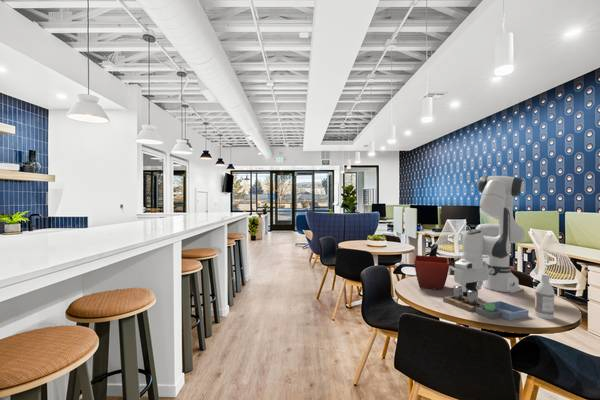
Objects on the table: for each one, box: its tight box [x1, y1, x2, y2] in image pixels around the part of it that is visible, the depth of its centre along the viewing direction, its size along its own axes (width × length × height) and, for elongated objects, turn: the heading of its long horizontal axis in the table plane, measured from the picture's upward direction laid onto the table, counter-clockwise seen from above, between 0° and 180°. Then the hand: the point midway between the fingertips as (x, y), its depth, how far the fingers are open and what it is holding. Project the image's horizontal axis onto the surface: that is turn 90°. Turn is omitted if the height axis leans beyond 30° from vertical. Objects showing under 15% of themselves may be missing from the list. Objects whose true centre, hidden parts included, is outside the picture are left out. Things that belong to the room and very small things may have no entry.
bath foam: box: [534, 273, 555, 320], centre depth 146 cm, size 7×7×20 cm
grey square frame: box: [475, 306, 502, 320], centre depth 146 cm, size 8×8×3 cm
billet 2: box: [467, 290, 479, 306], centre depth 156 cm, size 4×4×8 cm
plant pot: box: [413, 254, 450, 291], centre depth 193 cm, size 19×19×17 cm
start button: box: [484, 302, 495, 312], centre depth 146 cm, size 4×4×4 cm
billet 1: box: [452, 285, 463, 301], centre depth 163 cm, size 4×4×8 cm
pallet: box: [442, 295, 485, 313], centre depth 160 cm, size 12×16×2 cm
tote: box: [482, 300, 529, 321], centre depth 149 cm, size 13×13×4 cm
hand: (471, 290), depth 157 cm, fingers open, 8 cm apart
